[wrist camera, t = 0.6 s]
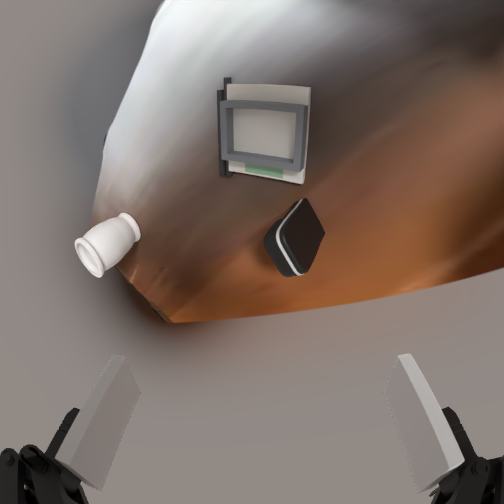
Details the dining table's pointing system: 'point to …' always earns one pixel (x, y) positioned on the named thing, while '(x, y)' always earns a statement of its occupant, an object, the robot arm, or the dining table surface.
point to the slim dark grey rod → (220, 97)
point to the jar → (107, 243)
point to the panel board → (266, 130)
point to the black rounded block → (295, 239)
